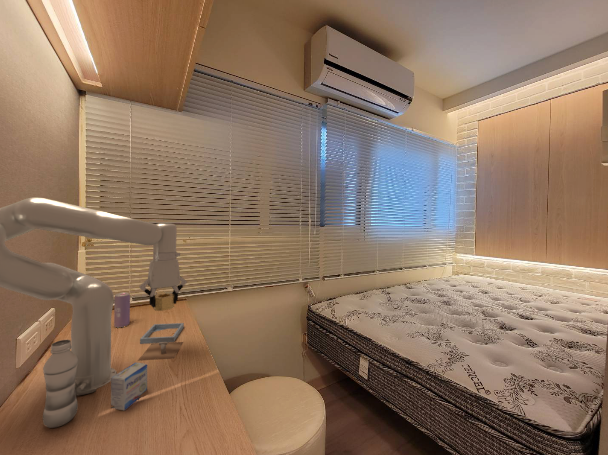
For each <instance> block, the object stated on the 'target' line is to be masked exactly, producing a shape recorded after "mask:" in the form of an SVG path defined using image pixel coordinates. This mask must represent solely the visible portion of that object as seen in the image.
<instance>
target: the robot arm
mask: <svg viewBox="0 0 608 455" xmlns="http://www.w3.org/2000/svg"><path fill="white" fill-rule="evenodd" d="M177 227H178V226H177V225H176V224H174V223H161V222H160V223H152V222H148V221H143V220H139V219H136V218H132V217H126V216H121V215H118V214H113V213H110V212H106V211H103V210H97V209H94V208H89V207H85V206H80V205H75V204H71V203H67V202H62V201H58V200H55V199H50V198H44V197H34V196H33V197H29V198H25V199H22V200H19V201H17V202H14V203H11V204H8V205H5V206H2V207H0V288H2V289H5V290H8V291H13V292H15V293H19V294H23V295H26V296H29V297H31V298H34V299H38V300H42V301H52V300H57V301H61V302H64V303H67V304H70V305H71V307H72V315H71V316H72V317H71V324H70V326H71V327H70V328H71V329H70V338H71V339H70V340H71V349H70V351H72V352H73V353H74V354H75V355H76V356H77V358H78V364H77V370H76V376H75V393H76V397H77V396H84V395H88V394H91V393H95V392H97V389H99V388H101V387H103V386H105V385H107V384H108V383H111V378H112V377H113V376H115V375H116V374H118V373H117V370H116V368H115V369H114V368H113V367H111V366H112V363H111V362H112V314H113V307H114V299H115V294H114V292H113V290H112V288H111V287H110V286H109V284H107V283H106V282H104V281H102V280H99V279H98V278H96V277H94V276H91V275H89V274H86V273H83V272H81V271H77V270H76V269H72V268H69V267H67V266H64V265H61V264H58V263H54V262H41V261H39V260H35V259H33V258H31V257H28V256H26V255H23V254H19V253H17V252H15V251H13V250H10V248H8V247H7V245H6V242H7V241H9V240H12V239H15V238H17V237H20V236H22V235H25V234H27V233H30V232H32V231H35V230H41V231H42V230H43V231H48V232H54V233H61V234H68V235H73V236H79V237H86V238H92V239H98V240H99V239H100V240H109V241H110V240H112V241H118V242H123V243H124V242H125V243H130V244H136V245H143V246H148V247H149V246H152V252H153V253H152V260H150V262H149V267H148V273H147V274H148V275H147V279H146V280H145V281H144V282H142V283H141V284H140V285H139V289H140V290H141V291H143V292H144V293H145V294H146V295H148V296H149V306H151V307H152V308H153V307H155V295H156V292H157V290H158V289H165V288H172V292H171V293H172V294H174V305H177V301H178V300H179V292H181V290H182V289H183V288H184V287H185V285H186V284H187V283H188V281H187V280H186V279H185V278H184V277H182V276H181V272H180V264H179V260H178V257H181V253H180V252H177V232H178V231H177V229H178V228H177ZM147 286H148V287H149V288H150V289H148V288H147Z"/></svg>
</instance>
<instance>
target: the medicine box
mask: <svg viewBox="0 0 608 455" xmlns="http://www.w3.org/2000/svg"><path fill="white" fill-rule="evenodd" d="M147 390H148V364H147V363H143V362H134V363H133V364H131V365H129V366H128V367H126V368H124V369H123V370H121V371H120V372H118V373H117V374H116V375H115V376H113V377H112V378H111V381H110V406H112V407H110V408H111V409H114V410H120V411H126V410H127V409H128V408H130V407H131V406H132V405H133V404H134V403H136V402H137V401H138V400H139V399H141V395H143V393H144V392H146V391H147Z"/></svg>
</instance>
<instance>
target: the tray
mask: <svg viewBox="0 0 608 455" xmlns="http://www.w3.org/2000/svg"><path fill="white" fill-rule="evenodd" d="M184 326H185V325H184V322H180V323H178V322H177V323H175V322H174V323H154V324H153V325H152V326H151V327H150V328H149V329H148V330H147V331H146V332H145V333H144V334H143V335H142V336H141V337H140V339H139V344H140V345H142V344H143V345H144V344H145V345H147V344H154V343H160V342H168V343H173V342H175V341H176V340H177V338H178V337H179V336H180V333H181V332H182V330H183V329H184V328H185V327H184ZM169 329H170V330H171V329H176V331H175V332H174V334H173V335H172V336H152V337H150V336H151V335H152V334H153V333H155V332H159V331H164V330H169Z"/></svg>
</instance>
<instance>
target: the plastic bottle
mask: <svg viewBox="0 0 608 455" xmlns="http://www.w3.org/2000/svg"><path fill="white" fill-rule="evenodd" d="M50 354H51V355H50V356H49V358H48V359H47V360H46V361H45V363H44V364H43V367H42V370H43V371H42V372H43V377H44V381H45V393H46V395H45V396H46V397H45V405H44V409H43V413H42V422H43V425H44V426H45V427H46V428H51V429H53V428H59V427H61V426H63V425H66V424H68V423H69V422H70V421H71V420H72V419H73V418H74V417H75V416H76V414H77V413H78V407H79V405H78V399H77V396H76V393H75V376H76V370H77V364H78V358H77V356H76V355H75V354H74V353H73V352H72V351H71V339H61V340H58V341H55V342H53V343H51V345H50Z"/></svg>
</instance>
